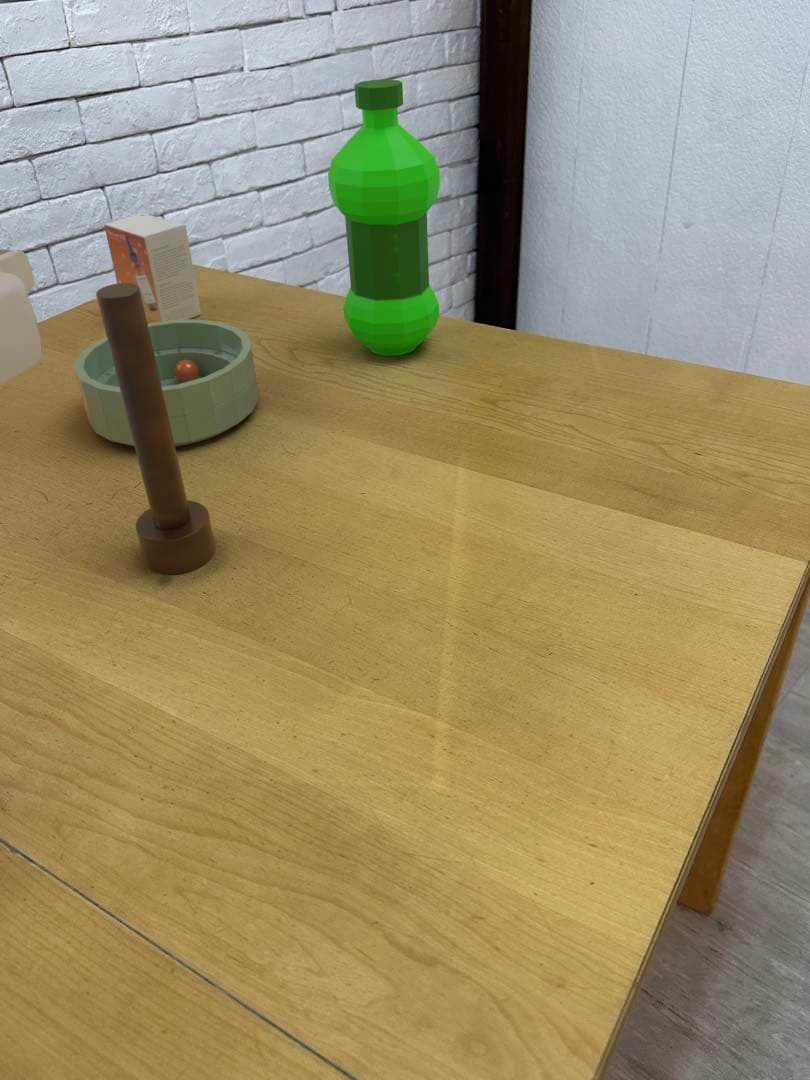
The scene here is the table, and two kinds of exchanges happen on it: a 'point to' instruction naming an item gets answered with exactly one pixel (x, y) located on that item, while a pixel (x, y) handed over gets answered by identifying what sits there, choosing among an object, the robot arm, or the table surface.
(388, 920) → the table surface
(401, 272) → the plastic bottle
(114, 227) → the small box
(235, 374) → the bowl
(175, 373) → the bead
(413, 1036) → the table surface
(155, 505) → the pestle
